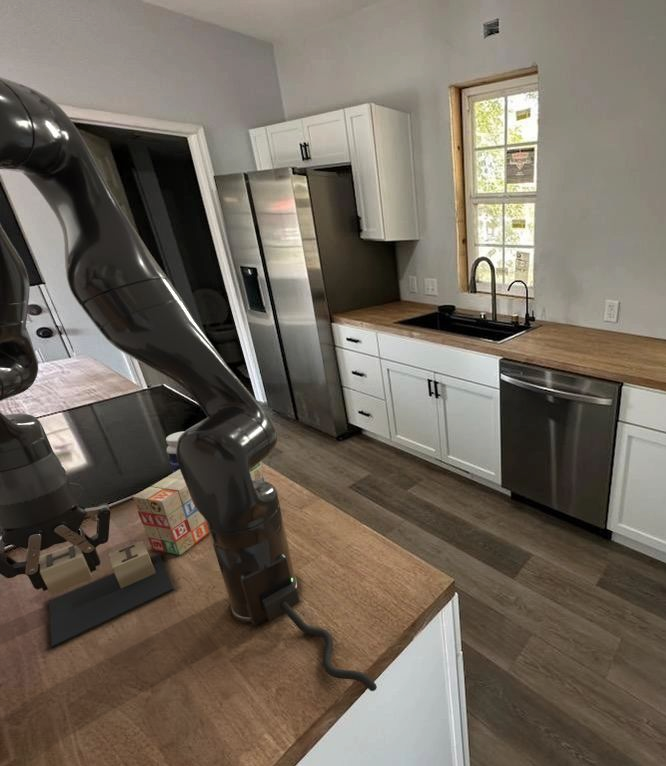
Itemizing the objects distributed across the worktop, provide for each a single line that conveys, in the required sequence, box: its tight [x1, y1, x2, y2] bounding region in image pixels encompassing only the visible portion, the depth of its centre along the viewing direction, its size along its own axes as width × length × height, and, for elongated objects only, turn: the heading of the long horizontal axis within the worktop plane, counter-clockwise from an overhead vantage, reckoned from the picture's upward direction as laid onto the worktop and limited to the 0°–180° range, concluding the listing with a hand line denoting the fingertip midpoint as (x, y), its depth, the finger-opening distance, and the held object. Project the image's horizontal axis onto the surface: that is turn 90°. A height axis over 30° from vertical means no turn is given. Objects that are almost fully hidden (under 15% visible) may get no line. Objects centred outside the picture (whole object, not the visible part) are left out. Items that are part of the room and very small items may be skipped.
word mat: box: [48, 553, 175, 649], centre depth 67 cm, size 11×14×1 cm
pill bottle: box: [165, 430, 186, 473], centre depth 98 cm, size 6×6×10 cm
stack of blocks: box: [132, 462, 265, 556], centre depth 83 cm, size 21×6×12 cm, turn 168°
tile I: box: [108, 540, 155, 589], centre depth 70 cm, size 4×4×5 cm
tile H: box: [39, 544, 93, 596], centre depth 64 cm, size 4×4×5 cm
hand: (70, 576), depth 65 cm, fingers closed on tile H, 4 cm apart
